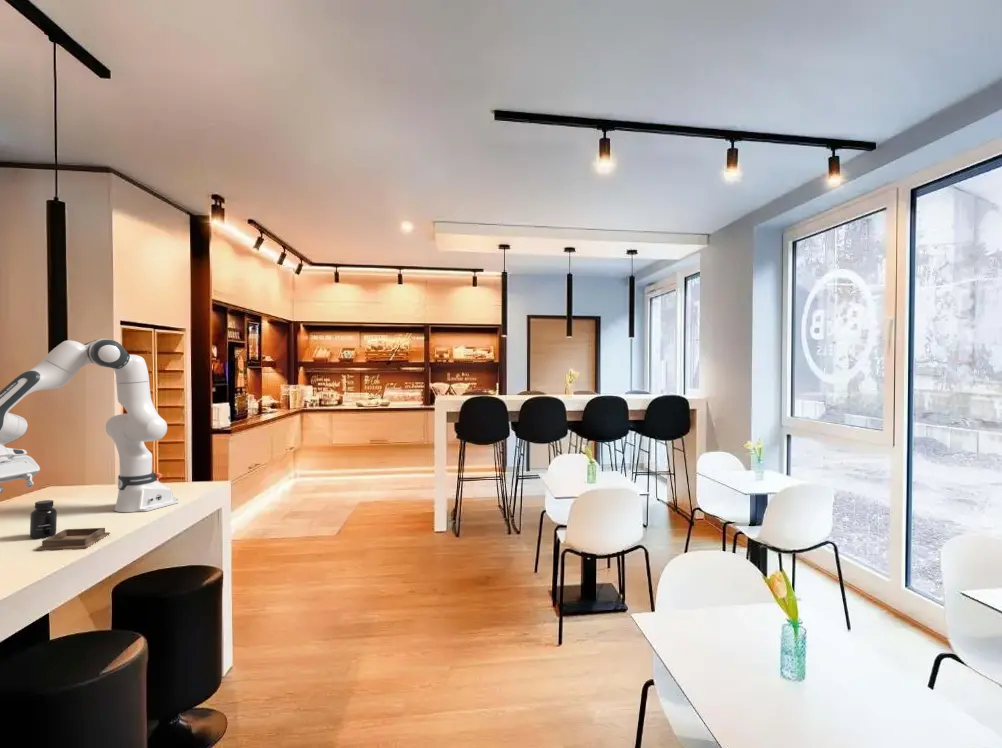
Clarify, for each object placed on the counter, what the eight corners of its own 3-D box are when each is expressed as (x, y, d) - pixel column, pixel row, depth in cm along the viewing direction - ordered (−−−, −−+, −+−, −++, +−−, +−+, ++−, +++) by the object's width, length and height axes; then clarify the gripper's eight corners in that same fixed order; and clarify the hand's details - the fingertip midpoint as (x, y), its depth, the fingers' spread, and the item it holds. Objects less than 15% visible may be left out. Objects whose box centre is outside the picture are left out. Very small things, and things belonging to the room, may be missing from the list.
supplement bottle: (40, 540, 172) (40, 505, 172) (24, 538, 173) (24, 503, 173) (61, 533, 179) (62, 499, 179) (46, 532, 180) (46, 498, 180)
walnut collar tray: (63, 536, 176) (63, 528, 176) (109, 534, 179) (109, 526, 179) (36, 551, 162) (36, 542, 162) (86, 548, 165) (86, 540, 165)
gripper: (-37, 458, 169) (-14, 490, 167) (30, 449, 189) (51, 476, 187) (-48, 471, 170) (-25, 502, 168) (20, 460, 190) (41, 488, 188)
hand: (16, 488), depth 178 cm, fingers open, 8 cm apart
